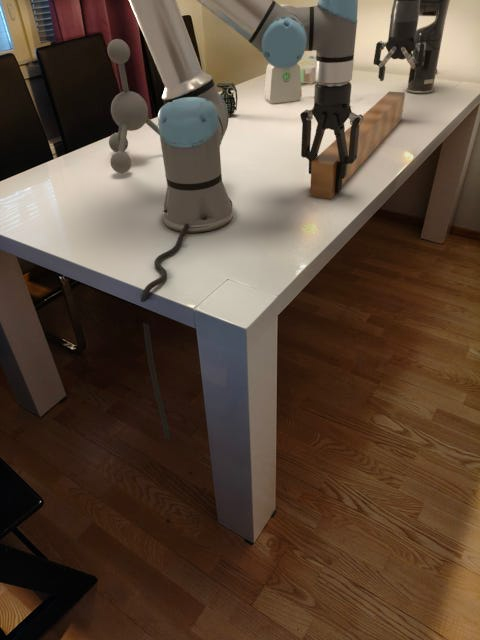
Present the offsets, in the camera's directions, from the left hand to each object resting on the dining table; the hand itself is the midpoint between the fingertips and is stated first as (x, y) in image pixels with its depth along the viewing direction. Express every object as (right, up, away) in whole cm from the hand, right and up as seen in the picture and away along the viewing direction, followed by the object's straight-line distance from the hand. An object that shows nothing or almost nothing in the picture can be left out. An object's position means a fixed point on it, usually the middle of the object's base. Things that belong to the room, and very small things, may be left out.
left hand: (326, 188), depth 115 cm
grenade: (-24, +40, +54) cm, 72 cm away
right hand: (+27, +41, +32) cm, 59 cm away
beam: (+14, +16, +20) cm, 29 cm away
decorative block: (+8, +73, +94) cm, 119 cm away
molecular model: (-47, +15, +24) cm, 55 cm away
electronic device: (-4, +51, +67) cm, 85 cm away
